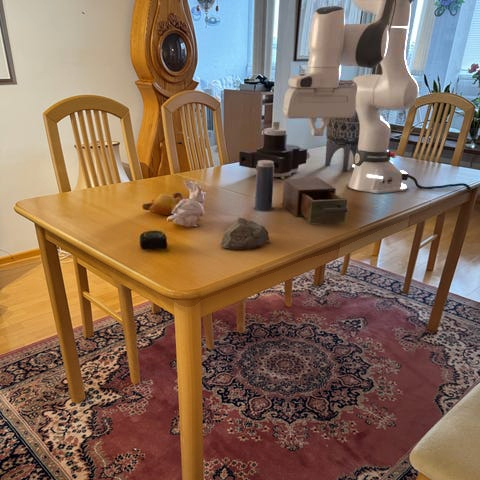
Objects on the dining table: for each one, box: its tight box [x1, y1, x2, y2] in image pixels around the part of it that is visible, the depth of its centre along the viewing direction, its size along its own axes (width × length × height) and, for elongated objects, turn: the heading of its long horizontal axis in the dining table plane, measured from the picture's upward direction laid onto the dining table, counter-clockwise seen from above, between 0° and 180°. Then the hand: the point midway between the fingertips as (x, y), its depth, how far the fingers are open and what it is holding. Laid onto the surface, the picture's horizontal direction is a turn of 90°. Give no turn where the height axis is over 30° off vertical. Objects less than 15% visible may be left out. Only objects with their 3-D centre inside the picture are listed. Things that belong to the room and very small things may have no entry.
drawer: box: [299, 191, 349, 225], centre depth 138 cm, size 18×11×7 cm, turn 14°
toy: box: [141, 192, 183, 216], centre depth 144 cm, size 11×6×15 cm
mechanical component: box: [238, 121, 311, 180], centre depth 191 cm, size 22×21×30 cm
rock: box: [221, 216, 270, 251], centre depth 120 cm, size 13×9×6 cm, turn 131°
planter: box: [324, 110, 360, 172], centre depth 204 cm, size 20×20×26 cm
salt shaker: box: [254, 160, 275, 212], centre depth 147 cm, size 6×6×15 cm
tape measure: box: [139, 229, 168, 251], centre depth 117 cm, size 7×7×4 cm
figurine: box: [166, 178, 207, 227], centre depth 132 cm, size 8×15×13 cm, turn 145°
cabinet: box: [282, 177, 337, 218], centre depth 149 cm, size 14×12×8 cm
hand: (317, 135), depth 127 cm, fingers closed
